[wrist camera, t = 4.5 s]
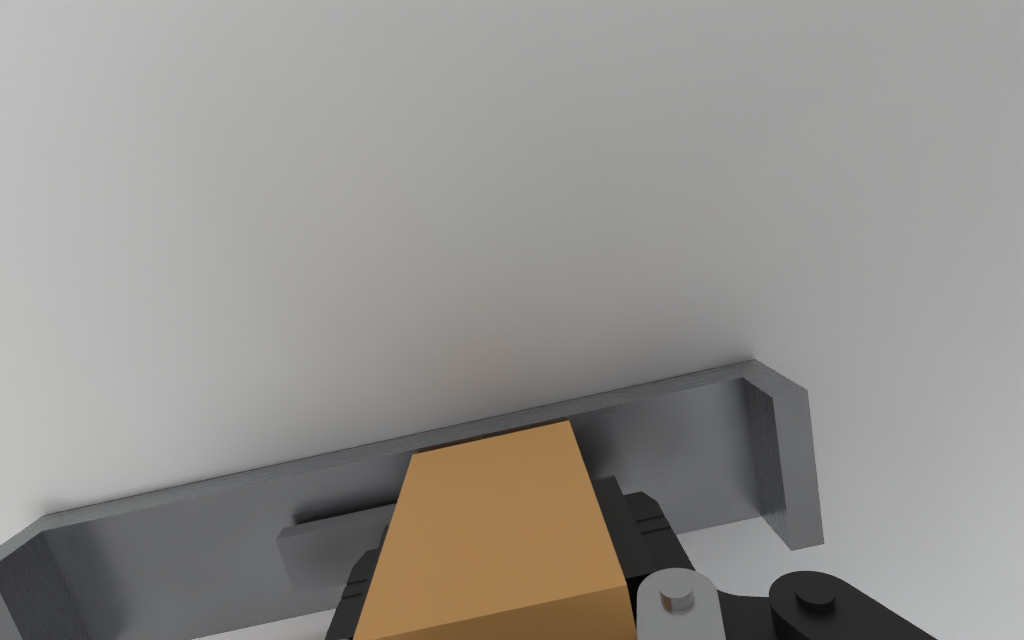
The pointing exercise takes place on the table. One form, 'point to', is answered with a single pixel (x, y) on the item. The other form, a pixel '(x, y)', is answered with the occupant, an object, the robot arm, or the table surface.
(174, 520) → the rail
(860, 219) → the table surface
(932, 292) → the table surface
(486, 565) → the tan rectangular block
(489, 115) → the table surface
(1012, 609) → the table surface
